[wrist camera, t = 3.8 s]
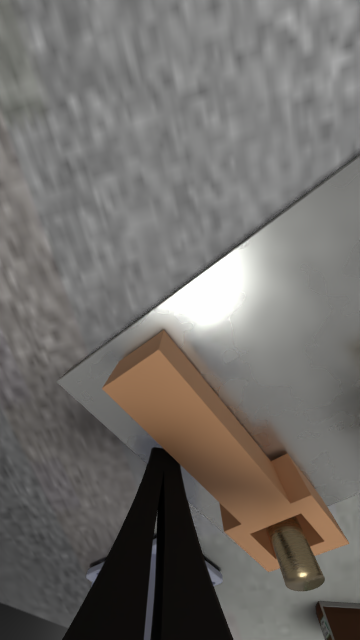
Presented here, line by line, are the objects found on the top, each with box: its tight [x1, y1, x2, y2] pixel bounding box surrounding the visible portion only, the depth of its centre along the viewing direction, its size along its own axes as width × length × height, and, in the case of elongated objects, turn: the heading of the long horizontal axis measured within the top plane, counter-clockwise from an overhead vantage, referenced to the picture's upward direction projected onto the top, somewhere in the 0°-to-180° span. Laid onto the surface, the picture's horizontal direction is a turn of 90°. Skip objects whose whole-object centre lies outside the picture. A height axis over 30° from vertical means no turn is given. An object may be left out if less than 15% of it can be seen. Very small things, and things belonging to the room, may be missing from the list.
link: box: [102, 330, 349, 572], centre depth 9 cm, size 16×5×2 cm, turn 36°
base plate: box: [57, 154, 360, 591], centre depth 8 cm, size 20×18×4 cm
